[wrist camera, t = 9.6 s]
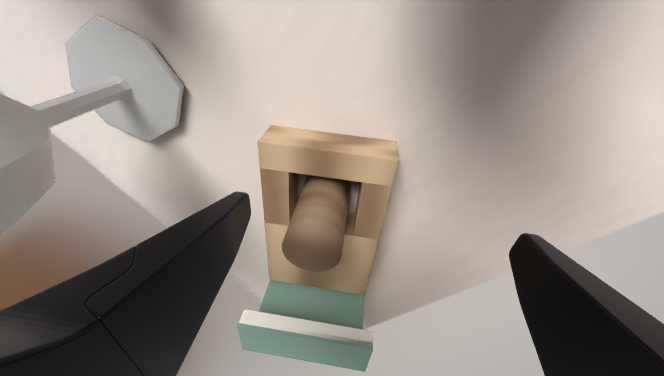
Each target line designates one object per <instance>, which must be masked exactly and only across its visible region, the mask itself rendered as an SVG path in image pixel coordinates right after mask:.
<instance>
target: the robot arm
mask: <svg viewBox="0 0 664 376" xmlns="http://www.w3.org/2000/svg"><path fill="white" fill-rule="evenodd" d="M250 216H251V208H250V200H249V195H248V194H247V193H244V192H234V193H232V194H230V195H228V196H226V197H225V198H223V199H221V200H219V201H217V202H215V203H213V204H212V205H210V206H208V207H206V208H204V209H202V210H200V211H199V212H197V213H195V214H193V215H191V216H189V217H188V218H186V219H184V220H182V221H180V222H178V223H176V224H175V225H173V226H171V227H169V228H167V229H165V230H164V231H162V232H160V233H158V234H156V235H155V236H152V237H151V238H149V239H147V240H145V241H143V242H141V243H139V244H138V245H137V246H136V247H135V246H134V247H132V248H130V249H128V250H126V251H124V252H123V253H121V254H119V255H117V256H115V257H113V258H111V259H109V260H107V261H105V262H103V263H102V264H100V265H98V266H95V267H93V268H91V269H89V270H87V271H85V272H83V273H81V274H79V275H77V276H75V277H72V278H70V279H68V280H66V281H64V282H62V283H59V284H57V285H55V286H53V287H51V288H49V289H47V290H44V291H42V292H40V293H38V294H36V295H34V296H31V297H29V298H27V299H25V300H23V301H21V302H19V303H16V304H14V305H12V306H10V307H7V308H5V309H2V310H0V376H176V374H177V373H178V371H179V369H180V367H181V365H182V363H183V361H184V359H185V357H186V355H187V353H188V351H189V349H190V347H191V345H192V343H193V341H194V339H195V337H196V335H197V333H198V331H199V329H200V327H201V325H202V323H203V321H204V319H205V317H206V315H207V313H208V311H209V309H210V307H211V305H212V303H213V301H214V299H215V297H216V295H217V293H218V291H219V289H220V287H221V285H222V283H223V282H224V279H225V277H226V276H227V274H228V272H229V270H230V268H231V266H232V264H233V262H234V259H235V257H236V255H237V253H238V250H239V247H240V244H241V242H242V239H243V236H244V233H245V231H246V228H247V225H248V222H249V220H250ZM509 259H510V263H511V268H512V272H513V276H514V280H515V285H516V290H517V294H518V298H519V301H520V305H521V308H522V311H523V314H524V317H525V320H526V322H527V325H528V328H529V331H530V334H531V337H532V340H533V343H534V346H535V348H536V351H537V354H538V357H539V360H540V363H541V366H542V369H543V371H544V375H545V376H664V324H663V323H661V322H660V321H659V320H657V319H656V318H654V317H653V316H652V315H650V314H649V313H647V312H646V311H644V310H643V309H642V308H640V307H639V306H637V305H636V304H635V303H633V302H632V301H630V300H629V299H627V298H626V297H625V296H623V295H622V294H620V293H619V292H617V291H616V290H615V289H613V288H612V287H610V286H609V285H608V284H606V283H605V282H603V281H602V280H600V279H599V278H598V277H596V276H595V275H593V274H592V273H591V272H589V271H588V270H586V269H585V268H584V267H582V266H581V265H579V264H577V263H576V262H575V261H574V260H572V259H571V258H569V257H568V256H567V255H565V254H564V253H562V252H561V251H560V250H558V249H557V248H555V247H554V246H552V245H551V244H550V243H548V242H547V241H545V240H544V239H543V238H541V237H540V236H538V235H534V234H528V233H523V234H521V235H520V236H519V238H518V239H517V241H516V242H515V244H514V245H513V247H512V248H511V250H510V252H509Z"/></svg>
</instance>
